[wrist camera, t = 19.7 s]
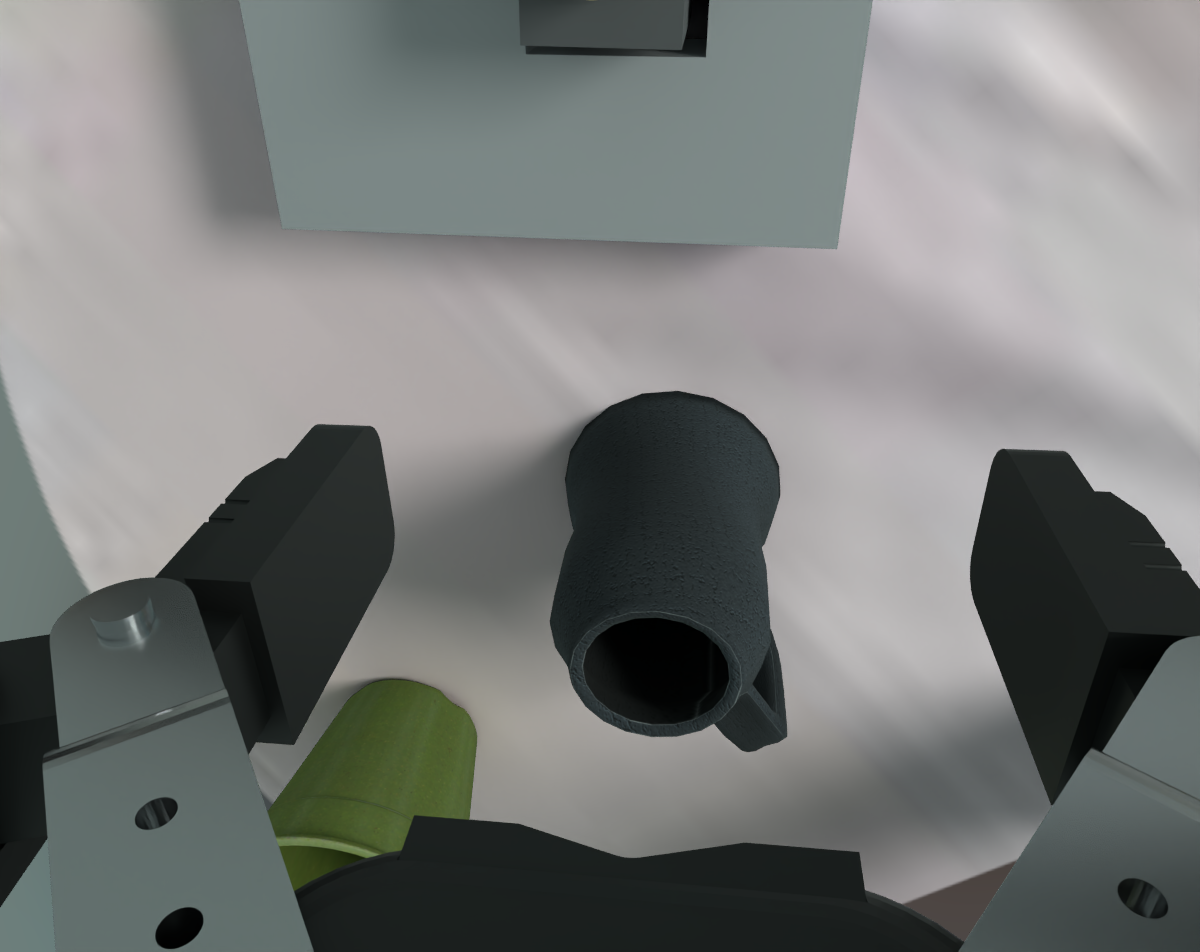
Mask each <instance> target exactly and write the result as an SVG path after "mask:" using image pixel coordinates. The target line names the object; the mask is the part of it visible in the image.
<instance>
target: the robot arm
mask: <svg viewBox="0 0 1200 952" xmlns="http://www.w3.org/2000/svg"><path fill="white" fill-rule="evenodd" d="M394 539H395V532H394V521H393V515H392V509H391V502H390V496H389V490H388V484H387V478H386V472H385V466H384V460H383V453H382V447H381V442H380V439H379V436H378V433H377V431H376V430H375V429H374V428H373V427H372V426H355V425H326V424H317V425H315V426H314V427H313V428H312V429H311V430H310V431H309V432H308V433H307V434H306V436H305V437H304V438H303V439H302V440H301V442H300V443H299V444H298V445H297V446H296V447H295V449H294V450H293V451H292V452H291V453H290V454H289V456H288V457H287V458H286V459H285V458H277V459H275V460H273V461H272V462H270V463H268V464H267V465H265V466H263V467H261V468H260V469H258V470H256V471H255V472H253V473H251V474H250V475H248V476H246V477H245V478H244V479H243V480H242V481H241V482H240V483H239V484H238V486H237V487H236V488H235V489H234V490H233V491H232V492H231V493H230V495H229V496H228V497H227V498H226V499H225V504H221V505H220V506H219V507H218V508H217V509H216V510H215V511H214V512H213V513H212V515H211V516H210V517H209V522H204V523H203V525H202V526H201V527H200V528H199V529H198V530H197V531H196V532H195V533H194V535H193V536H192V537H191V538H190V539H189V540H188V541H187V542H186V543H185V545H184V546H183V547H182V548H181V549H180V550H179V551H178V552H177V554H176V555H175V556H174V557H173V558H172V559H171V560H170V561H169V562H168V564H167V565H166V566H165V567H164V568H163V569H162V570H161V571H160V572H159V574H158V575H157V576H156V577H155V578H140V579H134V580H128V581H124V582H120V583H117V584H114V585H111V586H108V587H105V588H103V589H100V590H98V591H96V592H93V593H92V594H90V595H88V596H86V597H84V598H83V599H81V600H79V601H78V602H76V603H75V604H74V605H72V606H71V607H70V608H68V609H67V610H66V611H65V612H64V613H63V614H62V615H61V616H60V617H59V618H58V620H57V621H56V622H55V624H54V626H53V628H52V630H51V633H50V635H44V636H37V637H30V638H25V639H17V640H11V641H5V642H0V907H1V905H2V904H3V902H4V901H5V899H6V898H7V896H8V895H9V894H10V892H11V891H12V889H13V888H14V886H15V885H16V883H17V882H18V881H19V879H20V878H21V876H22V875H23V873H24V872H25V870H26V869H27V867H28V866H29V865H30V863H31V862H32V860H33V859H34V857H35V856H36V854H37V853H38V851H39V850H40V849H41V847H42V845H43V844H44V843H45V841H46V840H47V838H48V850H49V864H50V878H51V892H52V906H53V919H54V933H55V947H56V952H1200V589H1199V588H1198V586H1197V585H1196V584H1195V582H1194V581H1193V579H1192V578H1191V577H1190V575H1189V574H1188V573H1187V571H1182V569H1181V566H1182V565H1181V563H1180V562H1179V561H1178V559H1177V558H1176V556H1175V555H1174V554H1173V552H1172V551H1171V550H1170V548H1165V542H1164V540H1163V539H1162V538H1161V536H1160V535H1159V533H1158V532H1157V531H1156V529H1155V528H1154V527H1153V525H1152V524H1151V523H1150V521H1149V520H1148V519H1147V517H1146V516H1145V515H1144V514H1142V513H1141V512H1139V511H1138V510H1136V509H1135V508H1133V507H1132V506H1130V505H1129V504H1127V503H1126V502H1124V501H1123V500H1121V499H1120V498H1118V497H1117V496H1115V495H1114V494H1113V493H1111V492H1099V491H1094V490H1093V489H1092V487H1091V486H1090V484H1089V483H1088V481H1087V480H1086V478H1085V477H1084V475H1083V474H1082V472H1081V471H1080V469H1079V468H1078V467H1077V465H1076V464H1075V462H1074V461H1073V459H1072V458H1071V456H1070V455H1069V454H1068V453H1067V452H1065V451H1048V450H1018V449H1001V450H999V451H998V452H997V454H996V455H995V457H994V459H993V462H992V465H991V469H990V473H989V478H988V482H987V487H986V491H985V496H984V500H983V505H982V509H981V514H980V518H979V523H978V527H977V532H976V536H975V541H974V545H973V550H972V555H971V565H970V582H971V591H972V596H973V600H974V603H975V606H976V609H977V611H978V614H979V616H980V619H981V622H982V624H983V627H984V630H985V632H986V635H987V637H988V640H989V643H990V645H991V648H992V651H993V653H994V656H995V658H996V661H997V664H998V666H999V669H1000V672H1001V674H1002V677H1003V679H1004V682H1005V685H1006V687H1007V690H1008V693H1009V695H1010V698H1011V700H1012V703H1013V706H1014V708H1015V711H1016V714H1017V716H1018V719H1019V721H1020V724H1021V727H1022V729H1023V732H1024V735H1025V737H1026V740H1027V742H1028V745H1029V748H1030V750H1031V753H1032V756H1033V758H1034V761H1035V763H1036V766H1037V769H1038V771H1039V774H1040V777H1041V779H1042V782H1043V784H1044V787H1045V790H1046V792H1047V795H1048V797H1049V800H1050V803H1051V805H1053V806H1052V808H1051V809H1050V811H1049V812H1048V814H1047V815H1046V817H1045V818H1044V820H1043V821H1042V823H1041V825H1040V826H1039V828H1038V829H1037V831H1036V832H1035V834H1034V835H1033V837H1032V839H1031V840H1030V842H1029V843H1028V845H1027V846H1026V848H1025V849H1024V851H1023V852H1022V854H1021V856H1020V857H1019V859H1018V860H1017V862H1016V863H1015V865H1014V866H1013V868H1012V870H1011V871H1010V873H1009V874H1008V876H1007V877H1006V879H1005V880H1004V882H1003V883H1002V885H1001V887H1000V888H999V890H998V891H997V893H996V894H995V896H994V897H993V899H992V900H991V902H990V903H989V905H988V907H987V908H986V910H985V911H984V913H983V914H982V916H981V917H980V919H979V920H978V922H977V924H976V925H975V927H974V928H973V930H972V931H971V933H970V934H969V936H968V937H967V939H966V941H965V942H964V941H962V940H961V939H960V938H958V937H957V936H955V935H954V934H952V933H951V932H949V931H948V930H946V929H945V928H943V927H942V926H941V925H939V924H938V923H936V922H934V921H932V920H931V919H929V918H927V917H925V916H923V915H922V914H920V913H918V912H916V911H914V910H913V909H911V908H909V907H906V906H904V905H902V904H900V903H897V902H895V901H893V900H891V899H888V898H886V897H884V896H881V895H878V894H875V893H872V892H869V891H866V890H865V888H864V881H863V874H862V868H861V861H860V854H859V852H850V851H838V850H826V849H814V848H802V847H790V846H778V845H766V844H754V843H740V844H733V845H726V846H719V847H712V848H705V849H698V850H691V851H684V852H677V853H670V854H662V855H655V856H648V857H641V858H624V857H620V856H616V855H613V854H610V853H607V852H604V851H600V850H597V849H594V848H591V847H588V846H585V845H582V844H579V843H576V842H573V841H570V840H567V839H564V838H561V837H558V836H555V835H552V834H548V833H545V832H542V831H539V830H536V829H533V828H530V827H527V826H524V825H521V824H515V823H503V822H491V821H479V820H467V819H455V818H443V817H431V816H419V815H414V817H413V820H412V822H411V825H410V828H409V831H408V834H407V837H406V839H405V842H404V845H403V848H402V850H400V851H394V852H388V853H384V854H381V855H377V856H373V857H369V858H365V859H362V860H359V861H356V862H353V863H351V864H348V865H345V866H343V867H340V868H337V869H335V870H333V871H331V872H329V873H327V874H324V875H322V876H320V877H318V878H316V879H314V880H312V881H310V882H308V883H307V884H305V885H304V886H302V887H300V888H299V889H297V890H295V891H294V890H293V887H292V884H291V881H290V878H289V875H288V872H287V869H286V866H285V863H284V860H283V857H282V854H281V851H280V848H279V845H278V842H277V839H276V836H275V833H274V830H273V827H272V824H271V821H270V818H269V815H268V812H267V809H266V806H265V803H264V801H263V797H262V794H261V791H260V788H259V785H258V782H257V779H256V776H255V773H254V770H253V767H252V764H251V761H250V758H249V753H250V751H251V750H252V748H253V746H254V745H255V743H256V742H262V743H275V744H289V745H294V744H295V742H296V740H297V738H298V736H299V735H300V733H301V731H302V729H303V727H304V725H305V723H306V722H307V720H308V718H309V716H310V714H311V712H312V710H313V709H314V707H315V705H316V703H317V701H318V699H319V697H320V695H321V694H322V692H323V690H324V688H325V686H326V684H327V682H328V681H329V679H330V677H331V675H332V673H333V671H334V669H335V668H336V666H337V664H338V662H339V660H340V658H341V656H342V654H343V653H344V651H345V649H346V647H347V645H348V643H349V641H350V640H351V638H352V636H353V634H354V632H355V630H356V628H357V627H358V625H359V623H360V621H361V619H362V617H363V615H364V613H365V612H366V610H367V608H368V606H369V604H370V602H371V600H372V599H373V597H374V595H375V593H376V591H377V589H378V587H379V586H380V584H381V582H382V580H383V578H384V576H385V574H386V573H387V571H388V568H389V566H390V563H391V560H392V555H393V550H394Z"/></svg>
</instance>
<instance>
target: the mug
mask: <svg viewBox="0 0 1200 952" xmlns="http://www.w3.org/2000/svg"><path fill="white" fill-rule="evenodd" d="M565 482H566V491H567V499H568V506H569V511H570V516H571V521H572V526H573V530H574V531H573V534H572V537H571V539H570V541H569V544H568V546H567V548H566V551H565V555H564V559H563V563H562V567H561V571H560V575H559V580H558V584H557V588H556V592H555V596H554V601H553V607H552V612H551V617H550V626H551V630H552V635H553V639H554V643H555V648H556V649H557V651H558V652H559V654H560V655H561V657H562V658H563V660H564V661H565V663H566V664H567V666H568V669H569V674H570V679H571V683H572V685H573V688H574V690H575V691H576V693H577V694H578V696H579V697H580V699H581V700H582V702H583V703H584V705H585V706H586V707H587V708H588V709H589V710H590V711H592V712H593V713H594V714H595V715H597V716H598V717H599V718H600V719H602V720H603V721H604V722H606V723H609V724H611V725H613V726H615V727H617V728H620V729H622V730H624V731H626V732H631V733H635V734H640V735H645V736H650V737H677V736H681V735H685V734H689V733H693V732H697V731H701V730H703V729H705V728H707V727H708V726H710V725H712V724H715V725H716V727H717V728H718V729H719V730H720V731H721V732H722V734H723V735H724V736H725V737H726V738H728V739H729V740H730V741H731V742H732V743H734V744H735V745H736V746H737V747H738V748H740V749H741V750H742V751H746V752H752V751H756V750H758V749H760V748H762V747H764V746H766V745H770V744H774V743H778V742H780V741H781V740H783V739H784V738H786V737H787V721H786V709H785V698H784V688H783V679H782V671H781V663H780V658H779V653H778V650H777V647H776V644H775V640H774V637H773V634H772V631H771V629H770V616H769V601H768V585H767V570H766V564H765V559H764V555H763V551H762V546H763V545H764V544H765V541H766V538H767V535H768V532H769V529H770V527H771V524H772V521H773V518H774V514H775V511H776V508H777V504H778V501H779V498H780V477H779V465H778V463H777V461H776V458H775V456H774V454H773V452H772V449H771V447H770V445H769V443H768V440H767V438H766V437H765V436H764V435H763V434H762V433H761V432H760V431H759V430H758V429H757V428H756V427H755V426H754V425H753V424H752V423H751V422H750V421H749V419H748V418H747V417H746V416H745V415H744V414H742V413H740V412H738V411H736V410H734V409H732V408H731V407H729V406H727V405H725V404H723V403H721V402H719V401H717V400H716V399H714V398H710V397H705V396H700V395H695V394H690V393H686V392H681V391H671V392H658V393H645V394H640V395H638V396H635V397H632V398H630V399H627V400H625V401H622V402H619V403H617V404H614V405H612V406H610V407H609V408H607V409H606V410H605V411H604V412H602V413H601V414H600V415H599V416H597V417H596V418H595V419H594V420H592V421H591V422H590V423H589V424H588V425H586V426H585V428H584V430H583V431H582V433H581V434H580V436H579V438H578V439H577V441H576V443H575V444H574V446H573V448H572V449H571V451H570V455H569V461H568V466H567V472H566V477H565Z"/></svg>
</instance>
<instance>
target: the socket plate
mask: <svg viewBox="0 0 1200 952" xmlns="http://www.w3.org/2000/svg"><path fill="white" fill-rule="evenodd" d="M872 1H873V0H709V14H708V32H707V39H685V40H684V43H683V47H682V50H658V49H624V48H589V47H555V46H520V22H519V0H239V3H240V8H241V14H242V19H243V24H244V30H245V35H246V40H247V45H248V51H249V56H250V61H251V67H252V72H253V77H254V83H255V88H256V93H257V98H258V104H259V109H260V114H261V120H262V125H263V130H264V136H265V141H266V146H267V151H268V157H269V162H270V167H271V173H272V178H273V183H274V188H275V194H276V199H277V204H278V210H279V215H280V220H281V226H282V229H299V230H327V231H354V232H381V233H409V234H436V235H464V236H491V237H519V238H546V239H574V240H601V241H629V242H656V243H684V244H711V245H739V246H766V247H794V248H821V249H837V246H838V239H839V232H840V225H841V218H842V211H843V204H844V197H845V190H846V183H847V176H848V169H849V162H850V155H851V148H852V141H853V134H854V127H855V120H856V113H857V106H858V99H859V92H860V85H861V78H862V71H863V64H864V57H865V50H866V43H867V36H868V29H869V22H870V15H871V8H872Z"/></svg>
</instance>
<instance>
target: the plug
mask: <svg viewBox="0 0 1200 952" xmlns="http://www.w3.org/2000/svg"><path fill="white" fill-rule="evenodd" d="M691 5H692V0H519V22H520V46H555V47H589V48H624V49H658V50H682V47H683V43H684V40H685V36H686V32H687V28H688V25H689V21H690V17H691Z"/></svg>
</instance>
